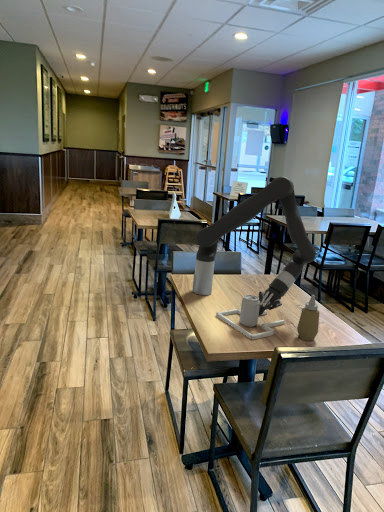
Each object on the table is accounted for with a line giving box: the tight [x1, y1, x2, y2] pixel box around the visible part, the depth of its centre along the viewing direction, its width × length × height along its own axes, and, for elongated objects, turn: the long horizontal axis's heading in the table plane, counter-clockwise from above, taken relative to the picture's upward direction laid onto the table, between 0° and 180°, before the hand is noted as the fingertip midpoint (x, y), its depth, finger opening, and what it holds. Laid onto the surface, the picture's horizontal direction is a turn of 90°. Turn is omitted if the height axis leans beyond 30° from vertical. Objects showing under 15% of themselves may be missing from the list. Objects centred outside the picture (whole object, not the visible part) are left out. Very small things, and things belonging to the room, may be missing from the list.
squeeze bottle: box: [296, 294, 320, 342], centre depth 151 cm, size 8×8×18 cm
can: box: [239, 294, 260, 328], centre depth 161 cm, size 8×8×12 cm
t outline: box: [215, 308, 285, 340], centre depth 164 cm, size 23×24×2 cm
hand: (257, 314), depth 164 cm, fingers closed
